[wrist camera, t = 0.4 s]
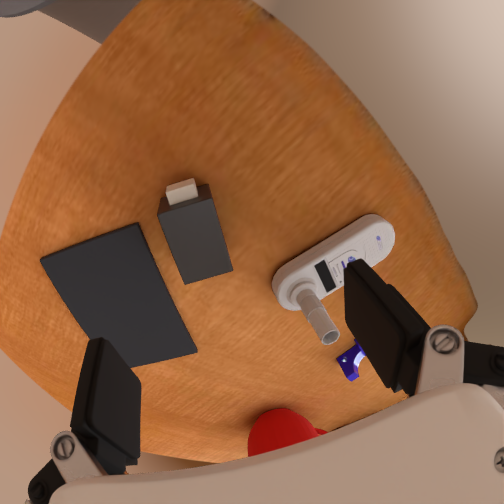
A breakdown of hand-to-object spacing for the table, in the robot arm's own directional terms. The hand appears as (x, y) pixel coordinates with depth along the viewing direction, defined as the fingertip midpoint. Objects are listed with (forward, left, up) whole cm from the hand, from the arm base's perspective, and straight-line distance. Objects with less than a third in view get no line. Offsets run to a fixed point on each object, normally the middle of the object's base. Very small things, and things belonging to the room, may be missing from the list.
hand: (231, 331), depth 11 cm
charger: (+3, -2, -18) cm, 18 cm away
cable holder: (+29, +15, -18) cm, 38 cm away
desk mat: (+10, -13, -18) cm, 24 cm away
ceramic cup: (+44, +1, -18) cm, 48 cm away
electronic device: (+11, +11, -18) cm, 24 cm away
